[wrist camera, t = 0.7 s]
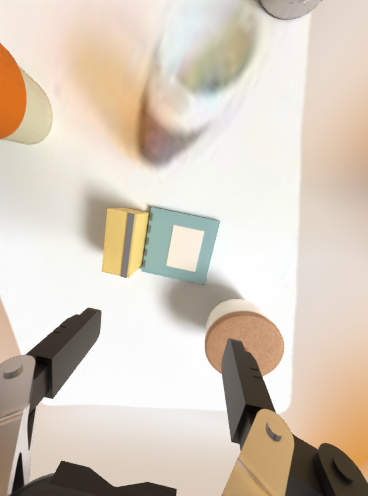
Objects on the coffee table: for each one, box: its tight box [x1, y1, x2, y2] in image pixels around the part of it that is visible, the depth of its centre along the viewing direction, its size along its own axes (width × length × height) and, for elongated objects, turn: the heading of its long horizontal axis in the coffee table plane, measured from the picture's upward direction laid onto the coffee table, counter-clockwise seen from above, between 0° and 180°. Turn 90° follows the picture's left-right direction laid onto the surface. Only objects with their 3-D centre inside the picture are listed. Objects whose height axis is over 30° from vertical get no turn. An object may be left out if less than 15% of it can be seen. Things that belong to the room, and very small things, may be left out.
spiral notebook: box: [142, 207, 220, 285], centre depth 29 cm, size 11×11×1 cm
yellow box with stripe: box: [102, 208, 150, 278], centre depth 26 cm, size 9×4×6 cm, turn 169°
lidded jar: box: [205, 299, 284, 376], centre depth 27 cm, size 11×11×9 cm
